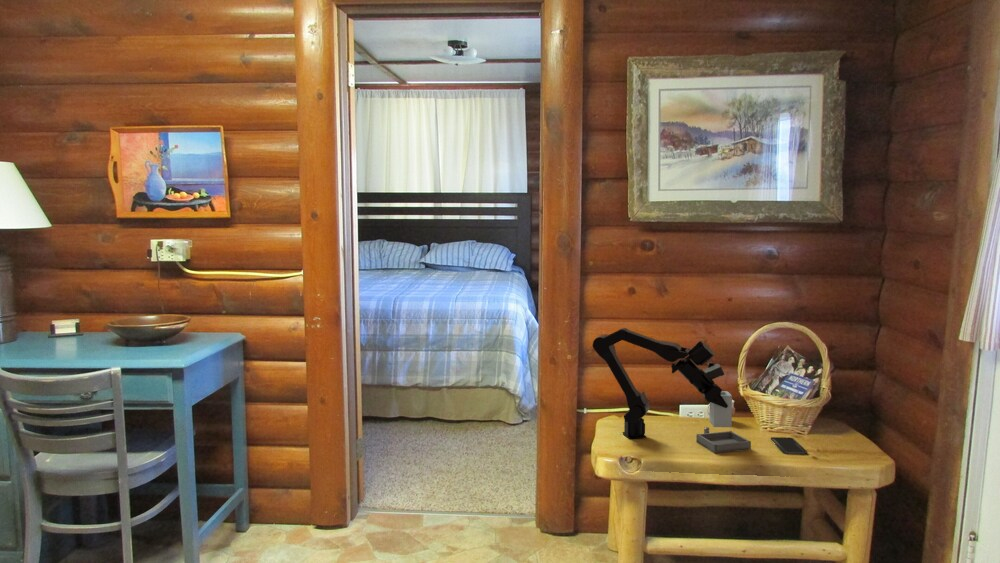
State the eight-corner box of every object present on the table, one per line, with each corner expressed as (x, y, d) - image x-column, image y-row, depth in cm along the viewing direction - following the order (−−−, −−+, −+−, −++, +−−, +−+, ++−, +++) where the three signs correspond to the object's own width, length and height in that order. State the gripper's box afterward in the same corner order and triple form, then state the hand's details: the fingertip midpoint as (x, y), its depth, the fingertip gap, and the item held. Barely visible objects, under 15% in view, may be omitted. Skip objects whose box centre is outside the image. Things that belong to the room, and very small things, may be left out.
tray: (714, 453, 216) (714, 445, 216) (696, 442, 228) (696, 434, 227) (750, 449, 219) (750, 441, 219) (730, 438, 231) (731, 430, 230)
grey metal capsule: (705, 437, 233) (705, 428, 232) (703, 435, 234) (703, 427, 234) (710, 436, 233) (710, 428, 233) (707, 435, 235) (707, 426, 234)
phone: (784, 452, 215) (769, 437, 230) (783, 455, 215) (769, 440, 230) (808, 452, 214) (792, 437, 229) (808, 455, 214) (792, 440, 229)
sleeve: (713, 427, 223) (713, 395, 222) (709, 421, 229) (709, 391, 228) (736, 427, 222) (736, 395, 221) (731, 421, 228) (732, 391, 227)
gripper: (715, 362, 214) (749, 395, 214) (703, 351, 233) (734, 381, 233) (691, 385, 216) (725, 418, 216) (681, 373, 234) (712, 403, 234)
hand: (724, 404), depth 225 cm, fingers closed on sleeve, 6 cm apart
